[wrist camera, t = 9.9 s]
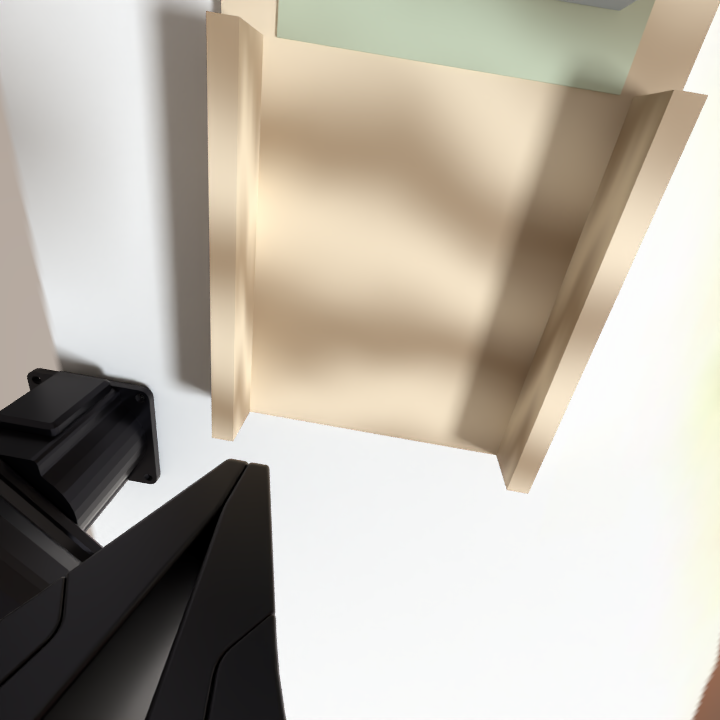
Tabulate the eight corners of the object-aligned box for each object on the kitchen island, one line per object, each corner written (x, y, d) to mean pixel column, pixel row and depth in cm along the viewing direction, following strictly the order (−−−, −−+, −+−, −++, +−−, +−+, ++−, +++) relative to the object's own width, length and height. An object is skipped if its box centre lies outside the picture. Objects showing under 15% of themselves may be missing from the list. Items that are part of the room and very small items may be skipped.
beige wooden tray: (523, 455, 22) (538, 495, 20) (224, 402, 23) (201, 435, 20) (814, -239, 11) (934, -350, 9) (226, -333, 12) (176, -469, 9)
